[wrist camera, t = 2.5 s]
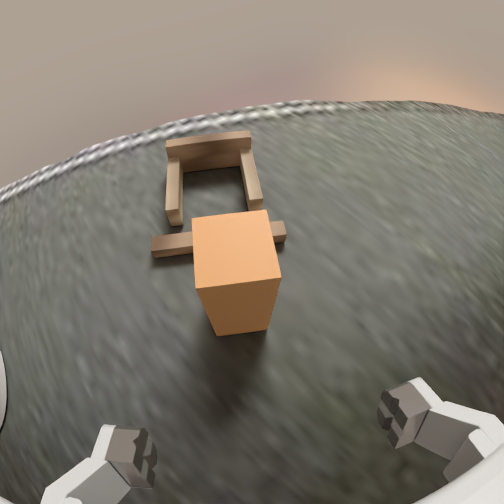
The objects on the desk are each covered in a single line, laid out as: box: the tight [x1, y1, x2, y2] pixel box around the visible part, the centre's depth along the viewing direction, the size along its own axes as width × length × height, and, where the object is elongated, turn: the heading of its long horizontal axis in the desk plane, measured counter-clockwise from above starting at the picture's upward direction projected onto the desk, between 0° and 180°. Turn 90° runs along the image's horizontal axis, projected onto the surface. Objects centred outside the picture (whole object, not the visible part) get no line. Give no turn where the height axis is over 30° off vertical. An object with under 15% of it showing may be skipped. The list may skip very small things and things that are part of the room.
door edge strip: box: [151, 221, 287, 258], centre depth 25 cm, size 12×2×1 cm, turn 99°
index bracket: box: [165, 130, 263, 226], centre depth 27 cm, size 9×8×4 cm
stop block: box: [192, 210, 281, 336], centre depth 18 cm, size 4×4×10 cm
